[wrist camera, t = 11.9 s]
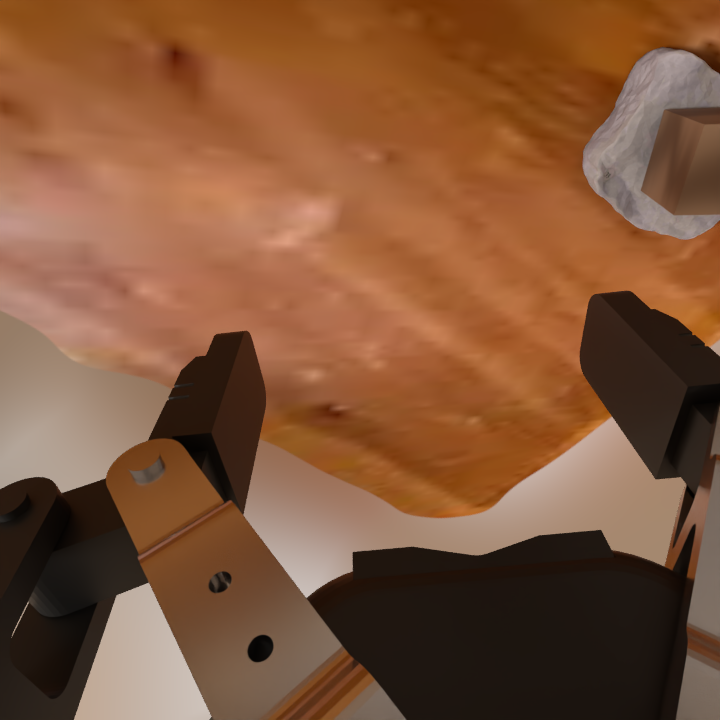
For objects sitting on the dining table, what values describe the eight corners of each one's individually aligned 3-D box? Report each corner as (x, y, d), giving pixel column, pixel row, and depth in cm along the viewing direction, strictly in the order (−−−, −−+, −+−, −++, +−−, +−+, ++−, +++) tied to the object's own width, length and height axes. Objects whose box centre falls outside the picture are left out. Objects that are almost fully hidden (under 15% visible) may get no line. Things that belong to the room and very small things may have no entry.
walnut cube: (664, 109, 30) (704, 124, 26) (748, 106, 30) (803, 121, 26) (640, 190, 33) (673, 215, 29) (717, 189, 33) (762, 213, 29)
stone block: (668, 228, 41) (785, 112, 34) (690, 259, 37) (825, 137, 31) (550, 167, 38) (652, 28, 31) (563, 194, 35) (680, 45, 28)
